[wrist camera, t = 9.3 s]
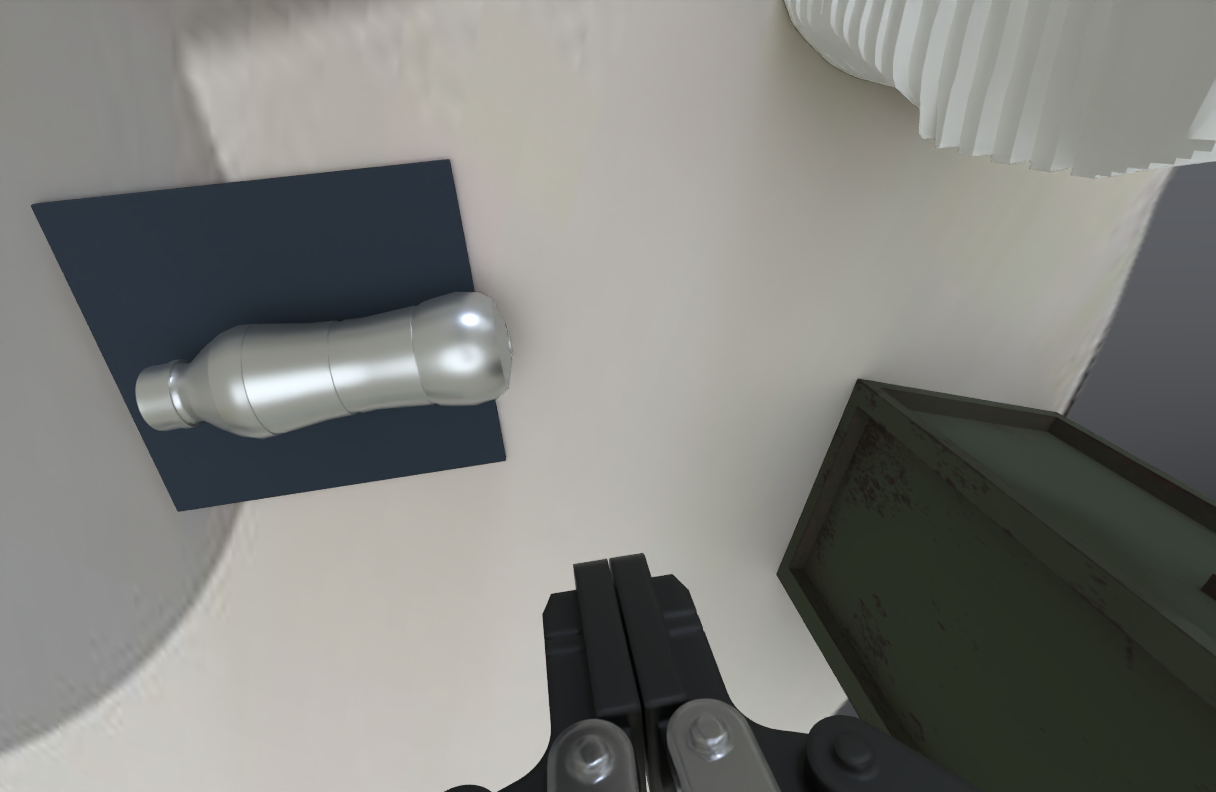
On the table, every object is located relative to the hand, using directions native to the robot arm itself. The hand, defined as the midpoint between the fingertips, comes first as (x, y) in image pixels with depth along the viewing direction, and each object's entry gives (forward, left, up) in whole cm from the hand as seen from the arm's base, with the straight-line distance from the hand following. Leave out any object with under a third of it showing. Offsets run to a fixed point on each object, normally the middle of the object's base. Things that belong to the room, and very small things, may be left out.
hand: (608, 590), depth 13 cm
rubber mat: (+3, -15, -29) cm, 33 cm away
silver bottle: (+3, -2, -25) cm, 25 cm away
